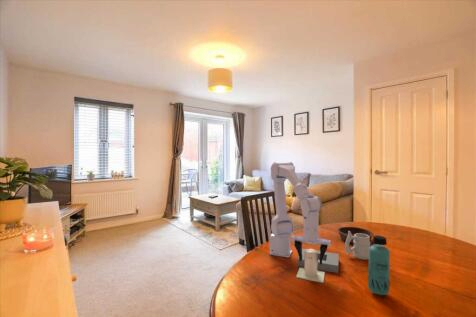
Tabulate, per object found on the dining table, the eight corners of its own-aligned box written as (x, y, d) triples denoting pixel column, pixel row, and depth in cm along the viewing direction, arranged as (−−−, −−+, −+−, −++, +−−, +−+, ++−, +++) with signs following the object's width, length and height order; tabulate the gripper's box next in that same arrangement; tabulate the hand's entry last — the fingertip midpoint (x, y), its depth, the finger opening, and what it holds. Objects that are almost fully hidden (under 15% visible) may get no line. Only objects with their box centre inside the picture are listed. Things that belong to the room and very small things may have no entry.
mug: (374, 259, 109) (375, 233, 109) (349, 260, 108) (349, 234, 108) (364, 252, 117) (365, 228, 116) (341, 253, 116) (341, 228, 116)
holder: (297, 265, 104) (297, 259, 103) (302, 254, 115) (302, 248, 114) (338, 273, 97) (338, 265, 97) (338, 260, 108) (338, 254, 108)
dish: (352, 232, 147) (352, 223, 147) (384, 245, 126) (384, 235, 126) (328, 235, 141) (328, 227, 141) (358, 250, 120) (358, 240, 120)
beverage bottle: (363, 289, 86) (364, 233, 85) (381, 288, 86) (382, 233, 86) (375, 300, 79) (376, 240, 79) (394, 299, 80) (395, 239, 79)
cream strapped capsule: (305, 269, 100) (305, 247, 100) (318, 271, 98) (318, 249, 97) (302, 277, 93) (303, 254, 93) (316, 280, 91) (316, 257, 91)
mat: (296, 277, 94) (296, 276, 94) (299, 268, 101) (299, 267, 101) (323, 283, 90) (323, 281, 90) (324, 273, 97) (324, 272, 97)
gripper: (290, 228, 94) (290, 262, 95) (330, 233, 89) (329, 269, 89) (293, 223, 101) (293, 255, 101) (330, 227, 95) (330, 261, 95)
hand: (310, 261), depth 96 cm, fingers open, 7 cm apart
